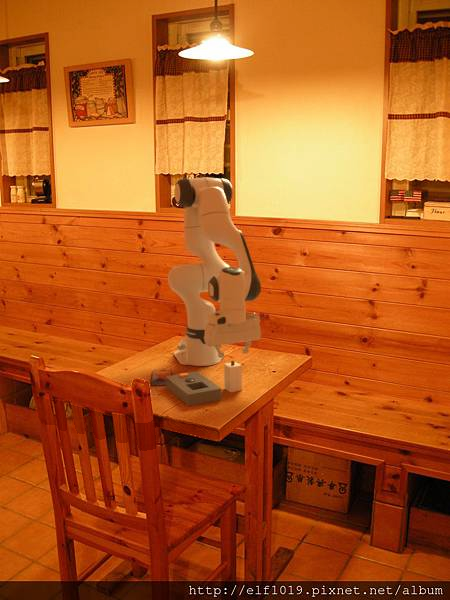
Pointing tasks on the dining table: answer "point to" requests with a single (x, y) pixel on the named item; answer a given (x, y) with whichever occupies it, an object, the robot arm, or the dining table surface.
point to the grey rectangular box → (193, 388)
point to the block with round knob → (233, 376)
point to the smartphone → (159, 377)
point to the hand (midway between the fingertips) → (233, 355)
